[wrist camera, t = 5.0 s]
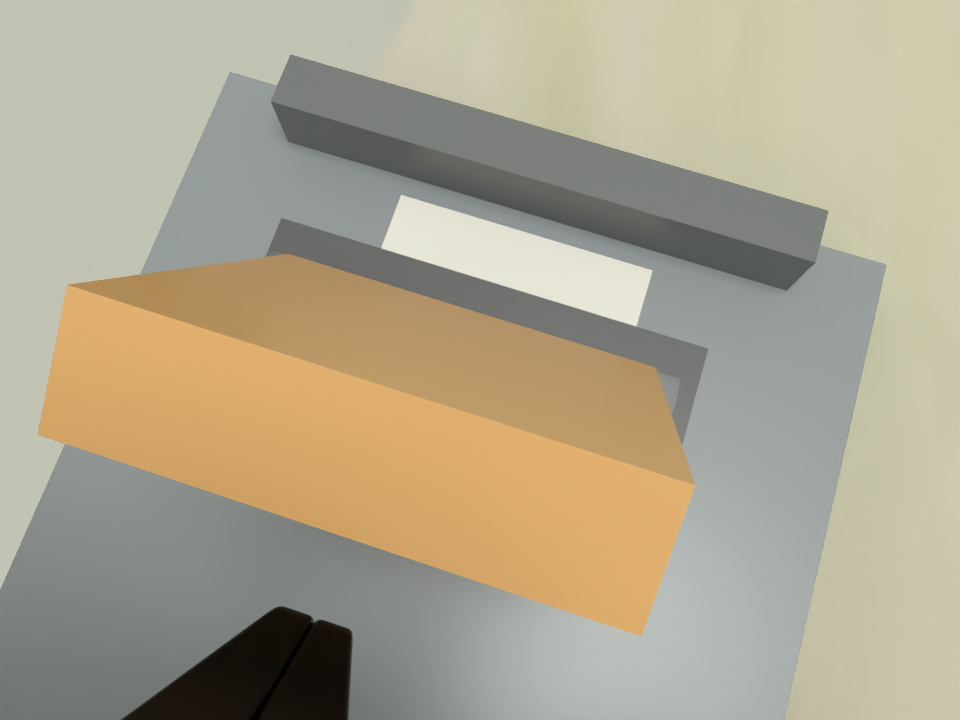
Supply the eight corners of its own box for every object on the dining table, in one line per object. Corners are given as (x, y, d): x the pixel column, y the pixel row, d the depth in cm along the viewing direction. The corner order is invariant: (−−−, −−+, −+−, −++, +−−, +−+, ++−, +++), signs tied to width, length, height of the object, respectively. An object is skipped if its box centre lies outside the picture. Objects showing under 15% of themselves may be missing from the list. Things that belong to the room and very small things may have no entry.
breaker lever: (650, 443, 15) (695, 654, 8) (269, 323, 16) (-10, 419, 9) (679, 361, 15) (751, 502, 8) (289, 241, 16) (18, 268, 8)
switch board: (627, 1310, 16) (691, 1627, 11) (-151, 1001, 18) (-401, 1164, 13) (864, 282, 21) (981, 187, 16) (243, 98, 23) (174, -42, 18)
